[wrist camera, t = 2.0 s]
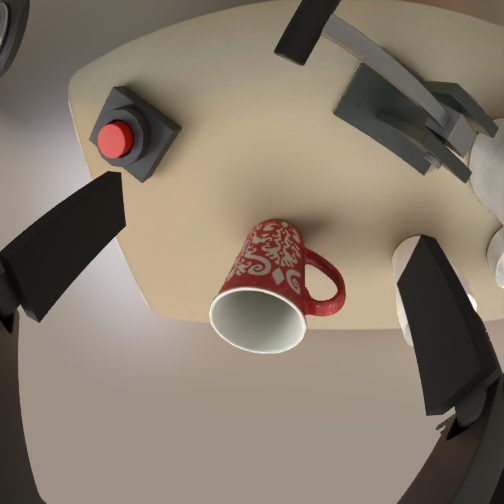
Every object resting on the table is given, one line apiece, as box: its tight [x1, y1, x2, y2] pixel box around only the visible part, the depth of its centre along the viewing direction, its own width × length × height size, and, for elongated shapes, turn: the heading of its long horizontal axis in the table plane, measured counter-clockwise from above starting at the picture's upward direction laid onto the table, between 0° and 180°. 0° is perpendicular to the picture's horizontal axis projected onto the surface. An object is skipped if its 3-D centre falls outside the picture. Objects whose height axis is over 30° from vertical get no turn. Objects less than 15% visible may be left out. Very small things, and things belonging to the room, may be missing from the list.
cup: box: [392, 236, 477, 348], centre depth 28 cm, size 9×9×12 cm
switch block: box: [89, 86, 182, 183], centre depth 28 cm, size 10×8×4 cm
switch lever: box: [274, 0, 477, 158], centre depth 11 cm, size 14×5×2 cm, turn 66°
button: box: [98, 121, 134, 158], centre depth 26 cm, size 4×4×2 cm
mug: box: [209, 220, 346, 354], centre depth 30 cm, size 13×9×14 cm
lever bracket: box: [333, 58, 499, 183], centre depth 18 cm, size 12×9×14 cm
